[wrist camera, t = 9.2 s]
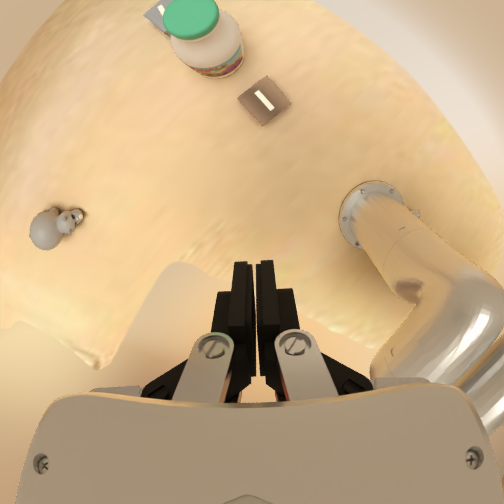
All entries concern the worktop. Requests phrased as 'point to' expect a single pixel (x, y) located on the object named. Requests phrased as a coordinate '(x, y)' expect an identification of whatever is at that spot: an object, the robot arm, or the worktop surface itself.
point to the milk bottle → (204, 37)
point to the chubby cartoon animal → (53, 227)
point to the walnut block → (264, 100)
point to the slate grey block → (158, 15)
